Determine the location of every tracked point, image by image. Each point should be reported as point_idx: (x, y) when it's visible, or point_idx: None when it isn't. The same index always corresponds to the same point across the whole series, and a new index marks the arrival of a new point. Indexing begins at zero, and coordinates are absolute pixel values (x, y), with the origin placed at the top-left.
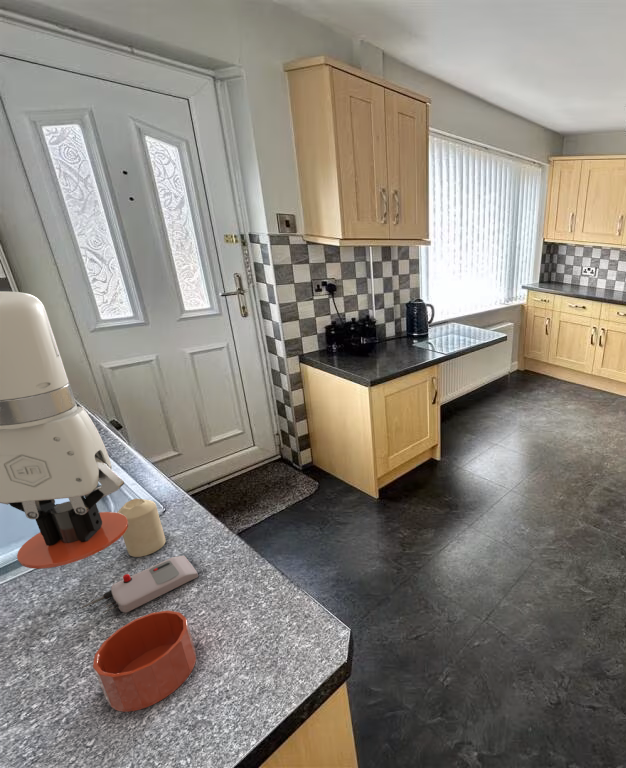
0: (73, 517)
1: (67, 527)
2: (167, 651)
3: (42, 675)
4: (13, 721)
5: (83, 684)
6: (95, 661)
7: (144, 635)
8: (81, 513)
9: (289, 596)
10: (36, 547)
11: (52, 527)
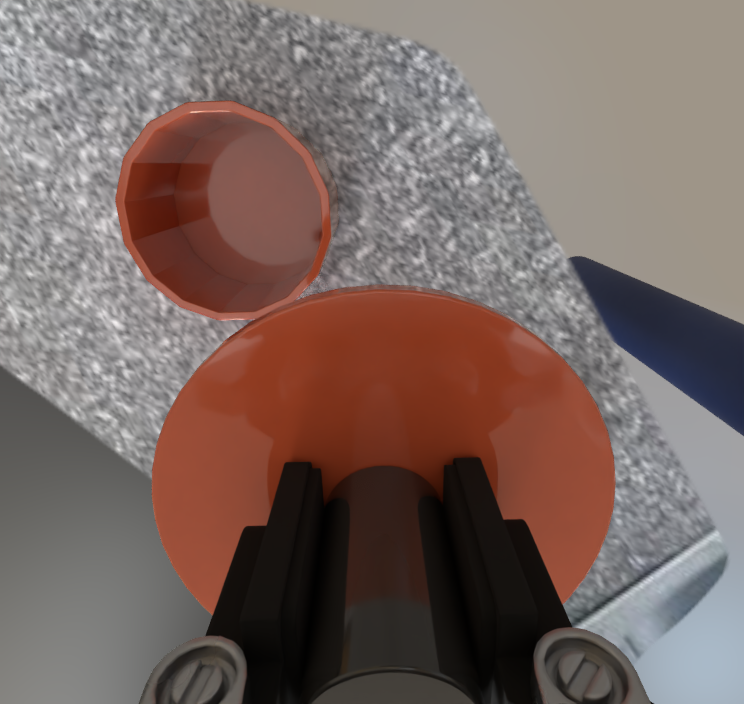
0: (266, 612)
1: (361, 546)
2: (129, 165)
3: (503, 256)
4: (496, 146)
5: (402, 214)
6: (312, 168)
7: (289, 285)
8: (214, 649)
9: (44, 382)
10: (531, 453)
11: (459, 558)
